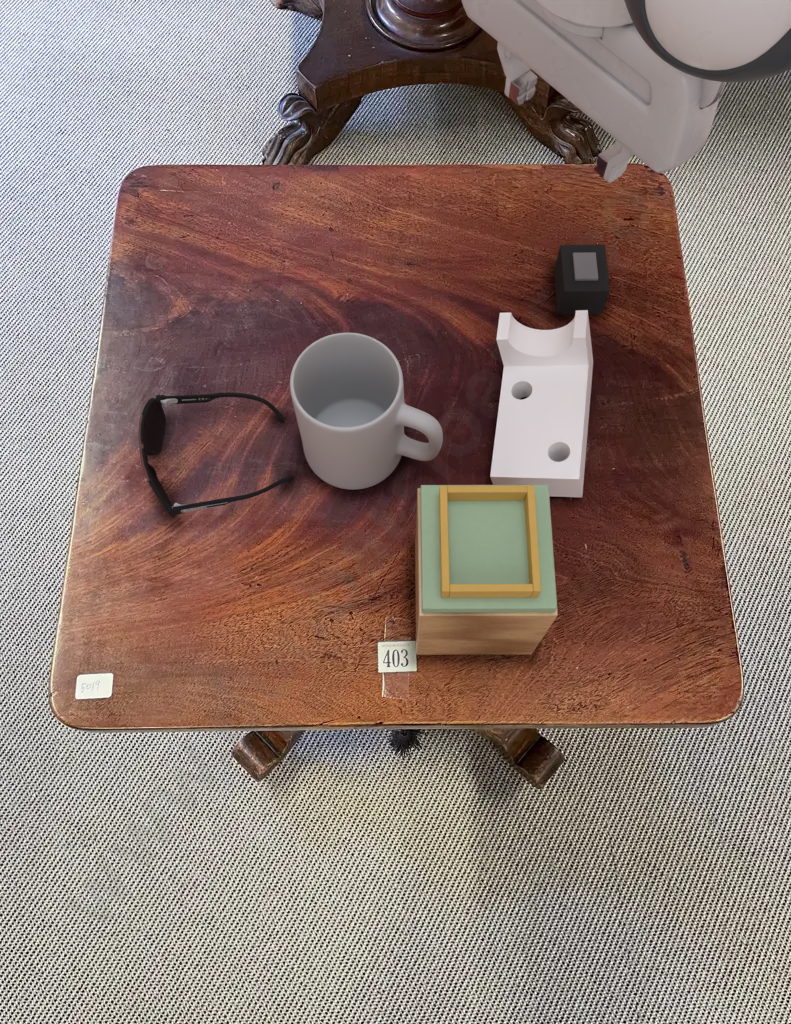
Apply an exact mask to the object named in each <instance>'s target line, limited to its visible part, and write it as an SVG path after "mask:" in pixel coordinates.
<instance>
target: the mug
mask: <svg viewBox="0 0 791 1024" xmlns="http://www.w3.org/2000/svg"><path fill="white" fill-rule="evenodd" d="M289 391H290V397H291V401H292V405H293V409H294V413H295V418H296V421H297V426H298V430H299V434H300V438H301V444H302V448H303V453H304V457H305V460H306V462H307V464H308V466H309V467H310V469H311V470H312V472H313V473H314V475H316V476H317V477H318V478H319V479H320V480H322V481H323V482H325V484H328V485H330V486H332V487H335V488H338V489H343V490H348V491H349V490H350V491H351V490H353V491H354V490H355V491H356V490H363V489H368V488H370V487H373V486H376V485H378V484H380V483H381V482H383V481H384V480H386V479H387V478H389V476H390V475H391V474H392V473H393V472H394V471H395V470H396V468H397V466H398V465H399V463H400V462H401V459H402V456H403V457H406V458H408V459H409V458H410V459H412V460H416V461H422V462H429V461H432V460H434V459H435V458H436V457H438V455H439V453H440V452H441V449H442V447H443V441H444V434H443V428H442V425H441V424H440V423H439V421H438V420H437V419H436V418H435V417H434V416H432V415H431V414H430V413H429V412H428V413H427V412H426V411H424V410H422V409H419V408H416V407H413V406H411V405H409V404H406V403H405V386H404V375H403V370H402V366H401V365H400V362H399V360H398V359H397V357H396V355H395V354H394V352H393V351H392V350H391V349H390V348H388V346H387V345H386V344H384V343H383V342H382V341H380V340H378V339H376V338H374V337H372V336H369V335H367V334H363V333H358V332H338V333H337V332H336V333H332V334H329V335H326V336H323V337H321V338H319V339H317V340H315V341H314V342H312V343H311V344H309V345H308V346H307V347H306V348H304V350H303V351H302V352H301V353H300V354H299V356H298V357H297V359H296V360H295V362H294V364H293V366H292V369H291V372H290V378H289ZM405 427H408V428H411V429H413V430H416V431H418V432H420V433H422V434H423V435H424V436H426V439H427V440H428V442H423V441H420V440H416V439H414V438H411V437H409V436H408V435H406V434H405Z"/></svg>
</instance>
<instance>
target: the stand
mask: <svg viewBox="0 0 791 1024" xmlns="http://www.w3.org/2000/svg"><path fill="white" fill-rule="evenodd" d="M416 494H417V495H416V513H415V516H416V517H415V535H414V536H415V538H414V568H415V569H414V570H415V571H414V574H415V575H414V577H415V578H414V583H415V584H414V585H415V586H414V587H415V588H414V589H415V590H414V591H415V655H416V656H418V655H419V656H423V655H424V656H427V655H428V656H430V655H431V656H433V655H436V656H437V655H438V656H439V655H441V656H443V655H444V656H445V655H455V656H456V655H457V656H458V655H459V656H460V655H461V656H462V655H463V656H464V655H465V656H467V655H468V656H469V655H470V656H472V655H477V656H478V655H479V656H480V655H483V656H484V655H486V656H487V655H489V656H490V655H495V656H497V655H533V654H534V652H535V650H536V649H537V647H538V646H539V644H540V643H541V641H542V640H543V639H544V637H545V635H546V634H547V633H548V631H549V630H550V627H552V625H553V624H554V622H555V620H556V619H557V617H558V616H559V611H558V610H559V609H558V608H557V609H556V611H555V612H422V570H421V487H418V488H417V492H416ZM550 497H551V496H549V500H550V501H551V498H550ZM550 514H551V515H552V513H551V510H550ZM552 526H553V525H552V524H551V528H552V529H553V527H552ZM552 542H553V543H554V541H553V538H552ZM553 556H554V557H555V554H554V552H553ZM555 567H556V566H554V570H555V569H556V568H555ZM555 571H556V570H555ZM556 582H557V581H556V580H555V584H556ZM556 598H557V599H558V595H557V594H556Z"/></svg>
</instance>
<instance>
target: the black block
mask: <svg viewBox="0 0 791 1024" xmlns="http://www.w3.org/2000/svg"><path fill="white" fill-rule="evenodd" d="M607 259H608V258H607V251H606V245H605V244H560V245H559V249H558V252H557V257H556V260H555V264H554V267H553V275H554V285H555V286H554V287H555V297H556V298H555V299H556V308H557V315H575V313H576V310H588V315H602V313H603V311H604V308H605V306H606V303H607V300H608V298H609V295H610V293H611V287H610V279H609V277H610V276H609V268H608V260H607Z"/></svg>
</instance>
